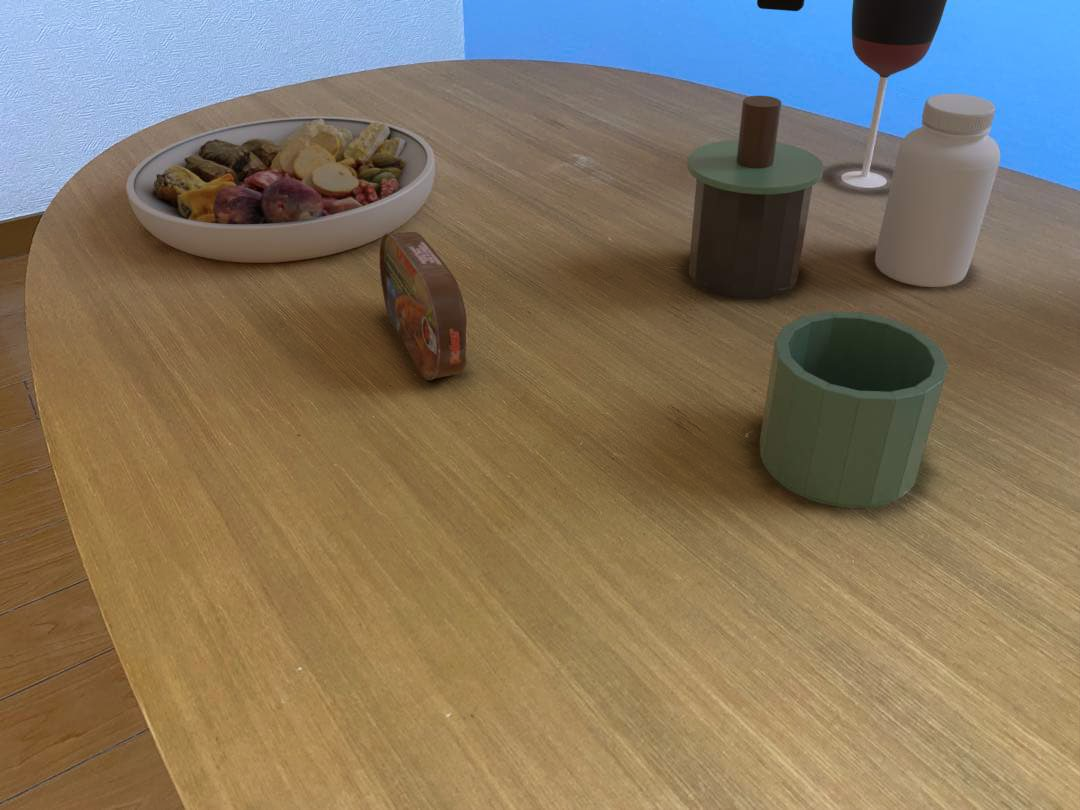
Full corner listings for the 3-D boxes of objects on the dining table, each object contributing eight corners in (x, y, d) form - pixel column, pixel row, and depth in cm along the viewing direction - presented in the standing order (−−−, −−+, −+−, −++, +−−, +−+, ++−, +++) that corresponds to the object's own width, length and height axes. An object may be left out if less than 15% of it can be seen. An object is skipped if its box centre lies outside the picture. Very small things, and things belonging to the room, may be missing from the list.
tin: (381, 310, 80) (369, 217, 75) (417, 302, 81) (408, 210, 76) (436, 402, 68) (427, 300, 63) (477, 392, 69) (471, 291, 64)
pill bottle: (902, 295, 80) (943, 122, 72) (857, 255, 87) (890, 91, 78) (985, 285, 82) (1036, 114, 73) (935, 246, 88) (976, 84, 79)
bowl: (142, 178, 105) (123, 107, 100) (406, 145, 112) (399, 78, 108) (135, 300, 81) (110, 216, 77) (469, 249, 89) (464, 169, 84)
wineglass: (893, 202, 97) (938, -6, 85) (811, 185, 100) (844, -15, 89) (914, 177, 102) (959, -21, 90) (836, 162, 106) (869, -30, 94)
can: (781, 403, 68) (799, 299, 63) (927, 440, 64) (957, 332, 59) (740, 483, 60) (756, 372, 55) (901, 530, 56) (933, 416, 52)
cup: (744, 244, 89) (757, 141, 83) (818, 283, 82) (838, 174, 77) (667, 270, 85) (675, 163, 79) (739, 313, 78) (753, 200, 73)
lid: (711, 145, 84) (717, 74, 81) (834, 164, 80) (847, 90, 77) (667, 187, 76) (672, 111, 73) (802, 211, 72) (814, 132, 69)
